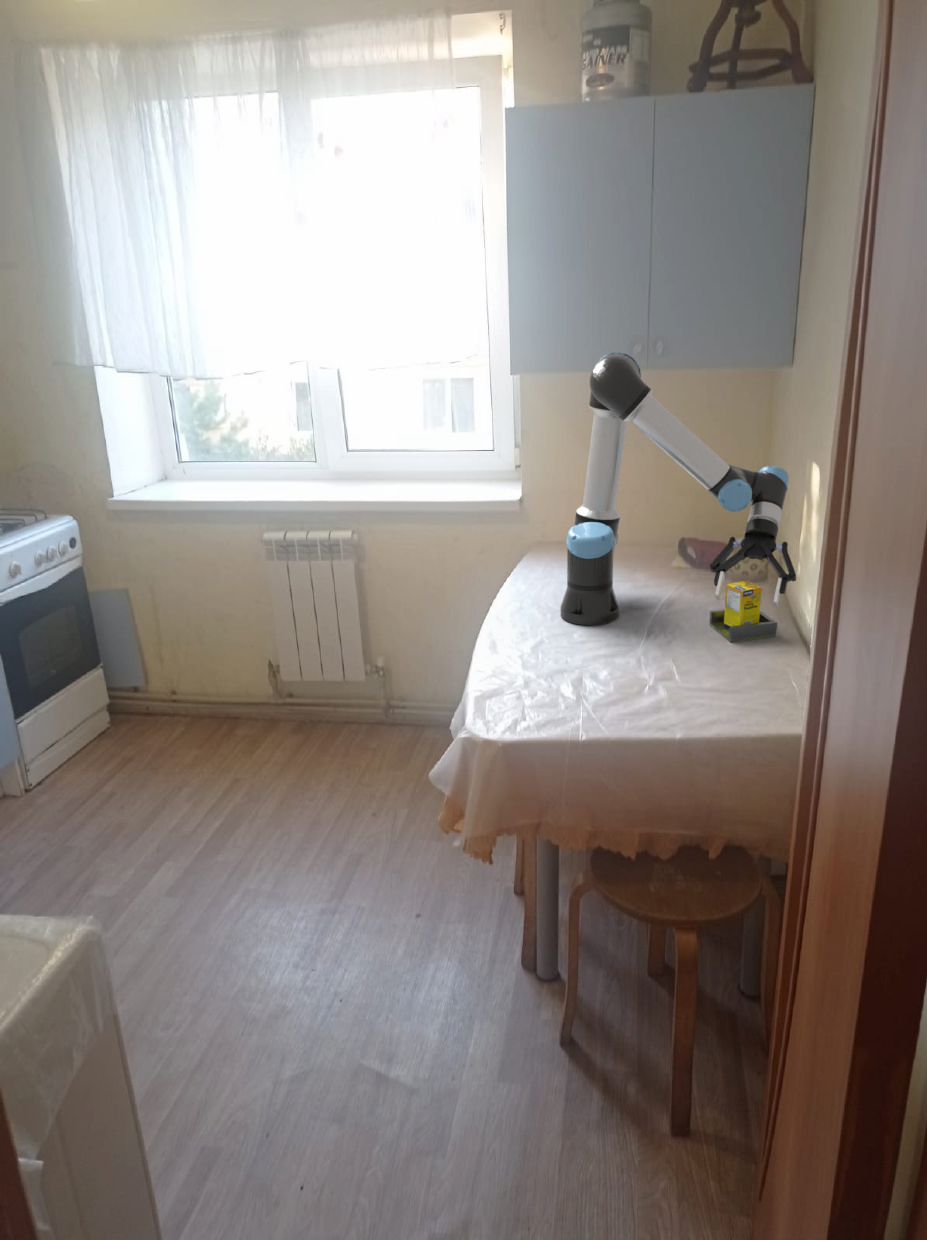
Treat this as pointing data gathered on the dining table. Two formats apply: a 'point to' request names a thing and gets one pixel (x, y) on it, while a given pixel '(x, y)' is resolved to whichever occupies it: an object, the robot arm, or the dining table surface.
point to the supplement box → (742, 604)
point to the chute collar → (743, 628)
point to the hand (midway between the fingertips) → (745, 601)
